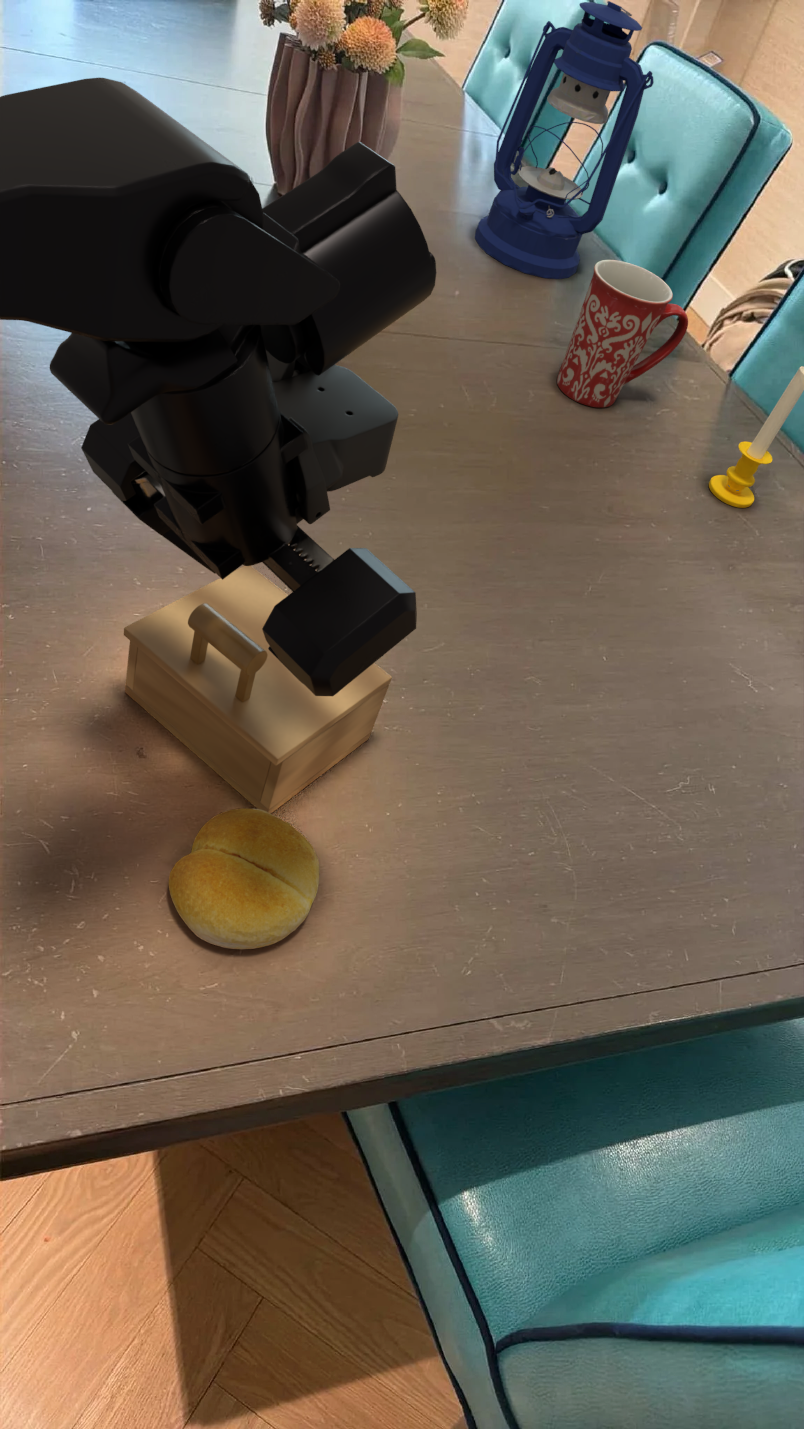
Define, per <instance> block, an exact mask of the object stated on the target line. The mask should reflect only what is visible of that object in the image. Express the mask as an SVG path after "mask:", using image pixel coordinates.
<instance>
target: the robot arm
mask: <svg viewBox="0 0 804 1429" xmlns="http://www.w3.org/2000/svg"><path fill="white" fill-rule="evenodd" d="M396 170H397V169H396V165H395V164H393V163H392V162H390V161H389V160H387V159H386V158H384V157H383V156H381V155H380V154H378V153H377V152H375V151H374V150H372V148H370V147H368V146H367V145H365V144H364V143H363V142H361V141H357V142H355V143H354V144H352V145H351V146H349V147H347V148H346V149H344V150H343V151H341V152H340V153H339V154H337V155H336V156H335V157H333V158H332V159H331V160H330V161H329V162H328V163H327V164H326V165H325V166H324V167H323V168H322V169H321V170H320V171H318V172H317V173H315V174H313V175H312V176H311V177H309V178H308V179H306V180H304V181H303V182H301V183H300V184H298V185H296V186H295V187H293V188H292V189H290V190H288V192H286V193H284V194H282V195H281V196H279V197H278V198H276V199H275V200H273V201H272V202H270V203H268V204H267V205H266V206H264V207H263V205H262V201H261V196H260V192H259V191H258V190H257V188H256V186H255V184H254V183H253V181H252V180H251V177H250V175H249V173H247V171H245V170H244V169H242V168H241V167H240V166H238V165H237V164H235V163H234V162H233V161H232V160H230V159H229V158H227V157H226V156H225V155H224V154H222V153H220V151H218V150H217V149H216V148H214V147H212V145H210V144H209V143H208V142H206V141H204V140H203V139H202V138H200V137H199V136H198V135H196V134H195V133H194V132H192V131H191V130H190V129H188V128H187V127H186V126H184V125H183V124H181V123H180V122H179V121H178V120H176V119H175V118H173V117H172V116H171V115H169V114H168V113H167V112H165V110H163V109H161V108H160V107H159V106H157V104H154V103H153V102H152V101H150V99H148V98H147V97H145V96H143V95H142V94H141V93H140V92H138V91H137V90H135V89H134V88H132V87H131V86H129V85H127V84H125V83H124V82H121V81H118V80H114V79H111V78H106V77H90V78H83V79H78V80H73V81H72V80H71V81H67V82H63V83H58V84H53V85H48V86H43V87H37V88H33V89H28V90H23V91H18V92H14V93H8V94H5V95H0V321H2V320H3V321H22V322H28V323H32V324H36V325H40V326H43V327H48V328H51V329H54V330H59V331H62V332H67V333H70V334H69V336H67V338H65V340H63V341H62V342H60V344H59V345H58V347H57V349H56V351H55V353H54V355H53V357H52V359H51V360H50V363H49V371H50V373H51V375H52V376H53V377H55V379H56V380H58V381H59V382H60V383H61V384H62V386H64V387H65V388H66V389H67V390H68V391H69V392H70V393H71V394H72V395H73V396H74V397H75V398H77V399H78V400H79V402H81V404H83V405H84V406H85V407H86V408H87V409H88V410H89V411H90V412H91V413H92V414H93V415H94V416H96V418H97V420H95V421H94V422H92V423H90V425H89V426H88V430H87V432H86V434H85V437H84V440H83V442H82V444H81V447H80V448H81V449H80V450H81V451H82V453H83V454H84V457H85V458H86V460H87V462H88V464H89V466H90V468H91V471H92V473H93V474H94V475H95V476H97V478H99V480H100V481H101V482H102V483H104V485H105V486H106V487H107V488H108V489H109V490H110V491H111V492H112V494H113V495H114V496H115V497H116V498H117V499H118V500H119V501H120V502H121V503H122V504H123V505H124V506H125V507H126V508H127V509H128V510H129V511H130V513H132V514H133V515H134V516H135V517H136V518H137V519H138V520H139V521H141V523H143V524H145V525H146V526H148V528H150V529H152V530H153V531H154V532H156V533H157V534H158V535H160V536H162V537H163V538H164V539H165V540H167V541H168V542H169V543H171V544H172V545H174V546H175V547H176V548H178V549H179V550H181V551H182V552H183V553H185V554H186V555H188V556H189V557H190V558H191V559H193V560H195V561H196V562H197V563H199V564H200V565H201V566H203V567H204V568H206V569H207V570H208V571H210V572H211V573H213V574H214V575H215V574H216V575H217V576H218V577H219V578H221V579H222V580H223V579H224V578H226V577H227V576H228V575H230V574H231V573H232V572H234V571H235V570H237V569H239V568H241V567H242V566H255V565H258V564H261V563H262V564H263V565H264V566H265V567H266V568H267V569H268V570H270V571H271V573H272V574H274V576H276V578H278V579H279V580H280V581H281V582H282V583H283V584H284V585H285V586H286V587H287V588H288V589H289V590H290V591H291V593H289V594H288V596H287V597H286V598H284V599H283V600H282V601H280V602H279V603H278V604H276V605H275V606H274V608H273V610H272V612H271V614H270V615H269V617H268V619H267V621H266V623H265V625H264V626H263V628H262V630H263V633H264V636H265V639H266V641H267V643H268V644H269V645H270V647H269V648H268V649H269V651H270V652H271V653H272V654H273V655H274V656H275V657H276V658H277V659H278V660H279V661H280V662H281V663H282V664H283V665H284V666H285V667H286V668H287V669H288V670H289V671H290V672H291V673H292V674H293V675H294V676H295V677H296V678H297V679H298V680H299V681H300V682H301V683H303V684H304V685H305V686H306V687H307V688H308V689H309V690H310V691H311V692H312V693H313V694H314V695H315V696H334V695H335V694H337V693H338V692H339V691H340V690H342V689H343V688H344V687H345V686H346V685H348V684H349V683H350V682H351V681H353V680H354V679H355V678H356V677H357V676H359V675H360V674H361V673H362V672H364V671H365V670H366V669H367V668H368V667H370V666H371V665H372V664H373V663H375V664H376V662H377V661H379V659H381V658H382V657H383V656H385V655H386V654H387V653H388V652H390V651H391V650H392V649H393V648H394V647H396V646H397V645H398V644H399V643H400V642H402V640H404V639H406V638H407V637H408V636H409V635H410V634H411V633H412V632H414V631H415V630H417V619H418V618H417V617H418V610H417V609H418V608H417V595H416V593H417V592H416V591H415V590H414V589H413V588H411V587H410V586H409V585H408V584H407V583H406V582H405V581H403V579H401V578H400V577H399V576H398V575H397V574H396V573H394V571H393V570H391V569H390V568H389V567H388V566H387V565H386V564H385V563H384V562H382V561H381V560H380V559H379V558H378V557H377V556H376V555H375V554H373V553H372V552H371V551H370V550H369V549H368V548H367V547H349V548H347V549H346V550H345V551H344V552H342V553H341V554H340V555H339V556H337V557H336V558H334V557H332V556H331V555H330V554H329V553H328V552H327V551H326V550H325V549H324V548H323V547H322V546H321V545H319V544H318V543H317V542H316V541H315V540H314V539H313V538H312V537H311V536H310V535H308V534H307V533H306V532H305V530H303V529H302V528H301V527H300V526H299V525H298V524H299V523H300V522H302V521H303V520H304V521H305V522H306V523H307V524H308V525H312V524H314V523H315V522H316V521H318V520H319V519H320V518H323V516H324V515H326V514H327V513H329V512H330V511H331V506H330V501H329V500H330V499H329V494H328V492H334V491H337V490H341V489H342V488H344V487H347V486H349V485H351V484H353V483H356V482H359V481H361V480H363V479H366V478H368V477H371V478H374V477H377V476H380V475H382V474H383V473H384V472H385V470H386V468H387V463H388V459H389V456H390V451H391V446H392V444H393V439H394V435H395V431H396V427H397V423H398V418H399V411H398V409H397V407H396V406H395V405H394V404H393V403H392V402H391V401H389V400H388V399H387V398H385V397H384V395H382V394H381V393H379V392H378V391H377V390H376V389H375V388H373V387H372V386H371V385H370V384H369V383H368V382H366V381H365V380H364V379H362V378H361V377H360V376H359V375H357V374H356V373H355V372H354V371H352V370H350V369H349V368H346V367H345V366H340V365H337V364H338V363H339V362H340V361H342V360H343V359H345V358H346V357H348V356H349V355H350V354H351V353H353V352H354V351H356V350H357V349H358V348H360V347H361V346H363V345H364V344H365V343H368V341H370V340H371V339H372V338H374V337H375V336H377V335H378V334H380V333H381V332H382V331H384V330H385V329H387V328H388V327H389V326H390V325H392V324H394V323H395V322H397V321H398V320H399V319H400V318H402V317H403V316H405V315H406V314H408V313H409V312H411V311H412V310H413V309H414V308H416V307H417V306H419V305H420V304H421V303H423V302H424V301H425V300H427V299H428V298H429V297H430V296H431V295H432V293H433V290H434V288H435V286H436V279H437V265H436V264H437V260H436V258H435V256H434V254H433V253H432V252H431V251H430V249H429V246H428V242H427V240H426V237H425V235H424V232H423V230H422V227H421V225H420V223H419V221H418V219H417V217H416V215H415V214H414V212H413V210H412V208H411V207H410V205H409V204H408V203H407V202H406V200H405V199H404V197H403V196H402V195H401V193H400V191H398V190H397V189H398V188H397V174H396V172H397V171H396Z"/></svg>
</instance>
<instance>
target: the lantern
mask: <svg viewBox="0 0 804 1429" xmlns="http://www.w3.org/2000/svg"><path fill="white" fill-rule="evenodd" d="M606 3H607V4H603V3H597V2H591V1H584V2H580V3H579V7H580V8H581V9H582V10H583V11H584V12H583V16H582V19H581V22H579V23H576V25H574V26H573V28H572V29H571V28H568V27H565V26H559V27H557V28H556V26H555V25H554V24H553V23H552V22H551V21H550V20H548V21H547V22H546V23H545V25H544V26H543V28H542V33H541V35H540V38H539V40H538V42H537V45H536V47H535V50H534V52H533V54H532V57H531V59H530V62H529V64H528V66H527V69H526V71H525V73H524V76H523V78H522V79H521V82H520V85H519V87H518V91H517V92H516V95H515V97H514V99H513V101H512V104H511V107H510V109H509V111H508V114H507V116H506V118H505V122H503V126H502V128H501V130H500V133H499V135H498V137H497V140H496V146H495V147H496V148H495V159H494V161H493V162H494V163H493V181H494V184H495V185H496V187H497V190H499V192H498V193H497V194H496V195H495V197H494V198H493V201H492V204H491V207H490V210H489V212H488V214H487V216H484V217H483V218H480V220H479V221H478V223H477V227H476V228H475V234H474V239H475V241H476V243H477V244H478V246H479V247H480V248H481V249H482V250H483V251H484V252H485V253H486V254H487V255H489V256H490V257H492V258H493V259H495V260H496V261H498V262H499V263H501V264H503V265H504V266H507V267H510V268H512V269H513V270H517V271H519V272H521V273H523V274H527V275H530V276H535V277H538V278H542V279H552V280H562V279H568V278H570V277H572V276H573V275H574V274H576V273H577V270H578V267H579V263H580V261H581V258H580V254H579V252H578V247H579V245H580V242H581V239H582V237H583V235H584V234H585V235H586V234H590V233H591V232H593V231H594V230H595V229H596V228H597V227H598V226H599V225H600V223H601V222H602V221H603V220H604V217H605V214H606V211H607V207H608V204H609V202H610V199H611V197H612V193H613V190H614V187H615V184H616V182H617V178H618V175H619V172H620V169H621V167H622V163H623V160H624V157H625V154H626V152H627V148H628V145H629V142H630V141H631V140H630V139H631V137H632V133H633V131H634V128H635V125H636V122H637V118H638V115H639V112H640V108H641V104H642V100H643V96H644V92H645V90H647V89H649V88H652V87H653V85H654V82H655V81H654V76H653V71H651V70H648V71H647V73H644V72H643V68H642V66H641V64H640V63H638V62H637V61H635V60H634V59H632V58H631V57H630V56H631V53H632V50H633V47H632V44H631V42H630V40H631V39H632V37H633V35H634V32H639V31H642V29H643V27H642V25H641V24H640V23H639V21H638V20H635V19H634V18H633V17H632V16H633V14H632V13H631V12H629V11H628V10H626V9H625V8H624V7H623V6H621V5H619V4H617V3H614V2H612V1H609V0H607V1H606ZM589 15H590V16H591V17H594V19H593V18H591V17H589ZM550 29H551V30H550ZM623 29H624V30H628V31H629V32H628V33H627V32H626V31H624V30H623ZM549 30H550V31H549ZM561 50H562V53H561V55H560V56H559V57H557V56H558V53H559V52H560V51H561ZM554 65H555V67H556V68H557V69H558V70H559V71H561V73H563V74H562V76H561V80H560V83H559V85H558V86H557V87H556V88H553V89H552V90H551V91H550V93H549V94H548V96H547V99H546V100H547V102H548V104H549V105H550V106H552V107H553V108H554V109H556V110H557V111H558V112H560V113H562V114H564V115H565V116H568V117H571V118H573V119H576V120H579V121H581V122H578V121H567V122H562V123H559V124H557V125H554V126H551V127H549V128H545V127H541V126H538V125H531V126H530V127H528V126H529V123H530V121H531V118H532V116H533V114H534V111H535V108H536V107H537V104H538V102H539V100H540V97H541V95H542V92H543V89H544V87H545V85H546V82H547V81H548V78H549V75H550V72H551V70H552V68H553V66H554ZM624 81H625V82H624ZM648 83H649V84H648ZM647 84H648V85H647ZM611 92H624V93H623V96H622V99H621V103H620V106H619V108H618V111H617V115H616V118H615V121H614V124H613V128H612V130H611V135H610V137H609V141H608V143H607V145H606V146H605V148H604V142H603V139H602V136H601V134H600V133H599V132H598V131H597V129H595V128H594V127H592V126H591V125H589V124H594V125H604V124H607V122H608V120H609V118H608V116H609V109H608V107H607V102H608V99H609V97H610V94H611ZM513 110H514V111H513ZM512 112H513V113H512ZM511 115H512V116H511ZM510 117H511V118H510ZM509 120H510V121H509ZM508 122H509V124H508ZM583 122H584V123H583ZM586 123H589V124H586ZM566 124H579V125H583V126H585V127H588V128H590V129H592V130H593V131H594V132H595V134H596V135H597V136H598V137H599V139H600V142H601V152H600V156H599V159H598V160H597V163H596V164H595V166H594V169H593V170H592V172H591V173H590V175H589V172H588V171H587V168H586V167H585V165H584V164H583V162H582V161H581V160H580V158H579V157H578V156H577V154H576V153H575V152H574V150H572V148H571V147H570V146H569V145H568V144H567V143H566V142H565V140H562V139H561V138H560V137H559V136H558V135H556V134H555V133H554V132H552V131H551V130H552V129H554V128H557V127H559V126H563V125H566ZM507 125H508V126H507ZM506 127H507V128H506ZM527 128H528V130H527ZM532 128H538V129H541V130H543V131H541V132H540V133H538V134H537V135H536V136H534V137H533V138H532V139H530V135H529V133H530V130H532ZM505 129H506V132H505ZM526 131H527V132H526ZM504 132H505V133H504ZM545 132H548V133H549V134H551V135H553V136H554V137H555V138H556V139H558V140H559V141H560V142H561V143H562V144H564V145H565V146H566V148H567V149H568V150H570V151H571V153H572V154H573V156H574V157H575V158H576V159H577V161H578V162H579V163H580V165H581V166H582V168H583V169H584V171H585V173H586V176H587V179H586V180H585V181H583V182H582V183H581V184H580V185H578V184H577V183H576V182H574V181H573V180H571V179H570V178H569V177H566V176H565V175H564V174H563V173H562V172H561V171H560V170H559V171H558V170H557V169H556V168H555V167H552V166H551V167H547V168H543V167H539V166H538V165H539V162H538V157H537V155H536V152H535V151H534V148H533V145H532V143H533V142H534V140H536V139H537V137H539V136H541V135H542V134H544V133H545ZM525 133H526V134H527V139H528V142H529V143H528V144H527V146H526V147H525V148H524V147H522V146H521V145H522V143H523V138H524V136H525ZM503 134H504V137H503V139H502V136H503ZM501 139H502V142H501V144H500V140H501ZM529 146H530V147H531V148H530V149H531V151H532V154H533V155H534V158H535V162H536V165H535V166H531V165H526V166H523V165H522V160H523V157H524V154H525V152H526V151H527V150H528V147H529ZM517 153H518V154H517ZM601 162H602V164H601ZM512 164H513V170H512ZM600 164H601V167H600V169H599V173H598V176H597V178H596V182H595V186H594V189H593V192H592V195H591V198H590V202H589V201H587V200H585V199H583V198H582V197H583V196H584V192H585V191H586V190H588V188H589V186H590V182H591V180H592V178H593V176H594V174H595V173H596V171H597V169H598V168H599V166H600ZM517 174H518V176H519V178H520V179H521V180H522V181H523V182H524V183H525V184H527V186H519V185H518V184H516V182H515V181H514V179H513V178H512V176H516V175H517ZM583 185H584V186H583ZM581 186H583V187H582V188H581ZM575 200H579V201H581V202H583V203H585V204H587V205H588V208H587V210H586V211H585V212H584V214H582V215H579V214H578V213H577V211H575V210H574V208H573V207H572V206H571V205H570V203H571V202H572V201H575Z"/></svg>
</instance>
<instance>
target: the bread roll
mask: <svg viewBox="0 0 804 1429" xmlns="http://www.w3.org/2000/svg"><path fill="white" fill-rule="evenodd" d="M193 840H194V841H193V842H192V846H191V850H190V851H191V852H189V853H188V854H186V855H184V856H182V857H181V858H180V859H179V860H178V861H176V862H175V864H174V866H173V867H172V869H171V870H170V872H169V877H168V890H169V895H170V897H171V901H172V903H173V906H174V907H175V910H176V911H177V914H178V916H180V918H181V919H182V920H183V922H184V923H185V925H186V926H187V927H188V929H189V930H190V931H191V932H192V933H193V934H194V936H196V937H197V938H199V939H201V940H202V941H204V942H207V943H208V944H212V945H213V946H214V945H215V946H218V947H221V948H224V949H233V950H252V949H258V948H263V947H268V946H271V945H274V944H276V943H278V942H280V941H282V940H283V939H285V938H287V937H288V936H289V935H290V934H291V933H293V932H295V931H296V930H297V929H298V927H300V926H301V924H302V923H303V922H305V920H306V918H307V917H308V915H309V913H310V910H311V908H312V905H313V903H314V901H315V899H316V896H317V893H318V891H319V884H320V862H319V861H320V860H319V858H318V856H317V853H316V851H315V849H314V846H313V845H312V844H311V843H310V841H309V840H308V839H307V838H306V837H305V835H304V834H302V833H301V832H300V831H299V830H297V828H295V827H294V826H293V825H291V823H290V822H288V821H285V820H283V819H282V818H281V817H278V816H277V815H274V814H273V813H271V814H270V813H268V812H266V811H264V810H259V809H257V808H246V807H245V808H244V807H243V808H235V809H229V810H225V811H223V812H220V813H218V814H216V815H214V816H213V817H211V818H210V819H209V820H208V821H207V822H205V823H204V825H203V826H202V827H201V828H200V830H199V831H198V833H196V836H195V838H194V839H193Z"/></svg>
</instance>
